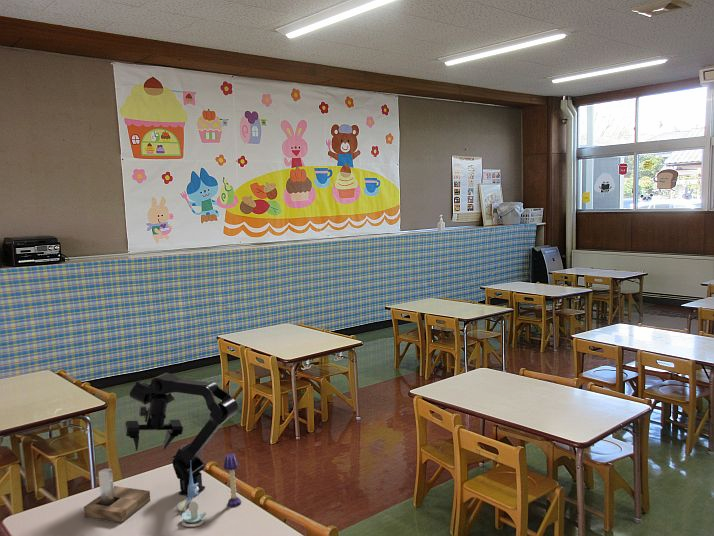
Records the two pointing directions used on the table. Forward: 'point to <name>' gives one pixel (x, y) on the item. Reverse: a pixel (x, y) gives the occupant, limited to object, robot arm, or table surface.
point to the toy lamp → (232, 478)
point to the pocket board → (118, 505)
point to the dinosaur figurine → (189, 492)
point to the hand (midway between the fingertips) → (150, 449)
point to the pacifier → (193, 515)
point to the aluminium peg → (106, 487)
